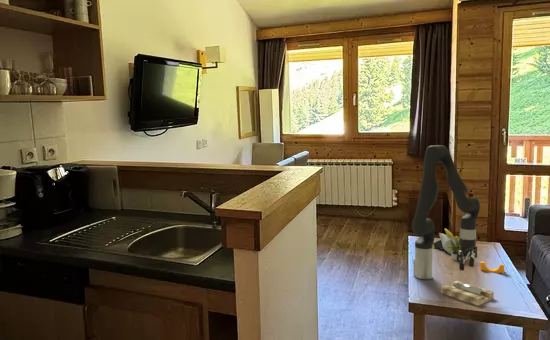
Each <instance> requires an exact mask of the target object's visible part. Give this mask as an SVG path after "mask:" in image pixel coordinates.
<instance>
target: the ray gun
mask: <svg viewBox="0 0 550 340" xmlns="http://www.w3.org/2000/svg"><path fill="white" fill-rule="evenodd" d="M443 231H444V232H445V233H441V232H438V236H439V238H440V239H439V240H436V241H434V243H433V245H432V249H436V248H437V249H436V250H440V249H441V250H442V251H446V252H447V253H448V254H450V255H451V252H453V250H452V249H451V248H447V247H452V245H451V244H452V243H451V241H450V240H449V239H451V240H452V241H453V243H454V242H455V245H456V240H457V241H458V239H459V236H457V235H455V236H454V234H453V233H452V232H451V230H449V229H447V228H444V230H443ZM455 238H456V239H455ZM448 241H449V242H450V243H451V244H450V243H449V242H448ZM455 245H454V246H455ZM459 246H460V245H459Z"/></svg>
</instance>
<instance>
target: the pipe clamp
mask: <svg viewBox="0 0 550 340" xmlns="http://www.w3.org/2000/svg"><path fill="white" fill-rule="evenodd" d="M479 263H480V268H479V269H480V271H484V272H489V273H493V274H495V273H496V274H500V273H501V275H504V274H505V264H504V263H500V264H499V267H496V268H489V267H488V266H487V265H486V263H485V261H480V262H479Z"/></svg>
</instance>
